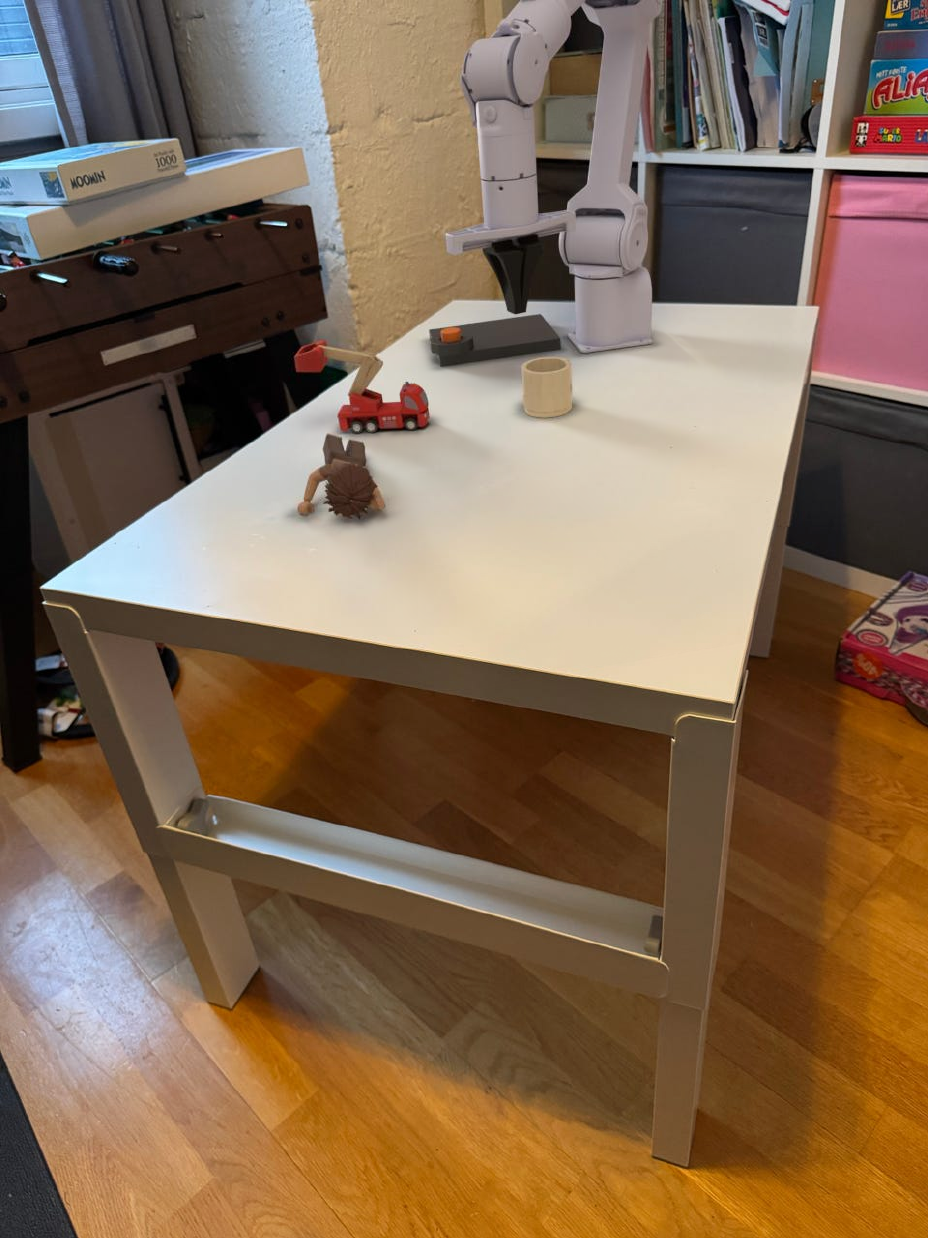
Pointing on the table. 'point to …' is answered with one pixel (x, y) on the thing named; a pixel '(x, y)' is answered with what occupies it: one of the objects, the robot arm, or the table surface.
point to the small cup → (547, 386)
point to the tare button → (450, 334)
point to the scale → (495, 340)
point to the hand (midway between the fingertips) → (516, 311)
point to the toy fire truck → (367, 392)
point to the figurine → (343, 480)
